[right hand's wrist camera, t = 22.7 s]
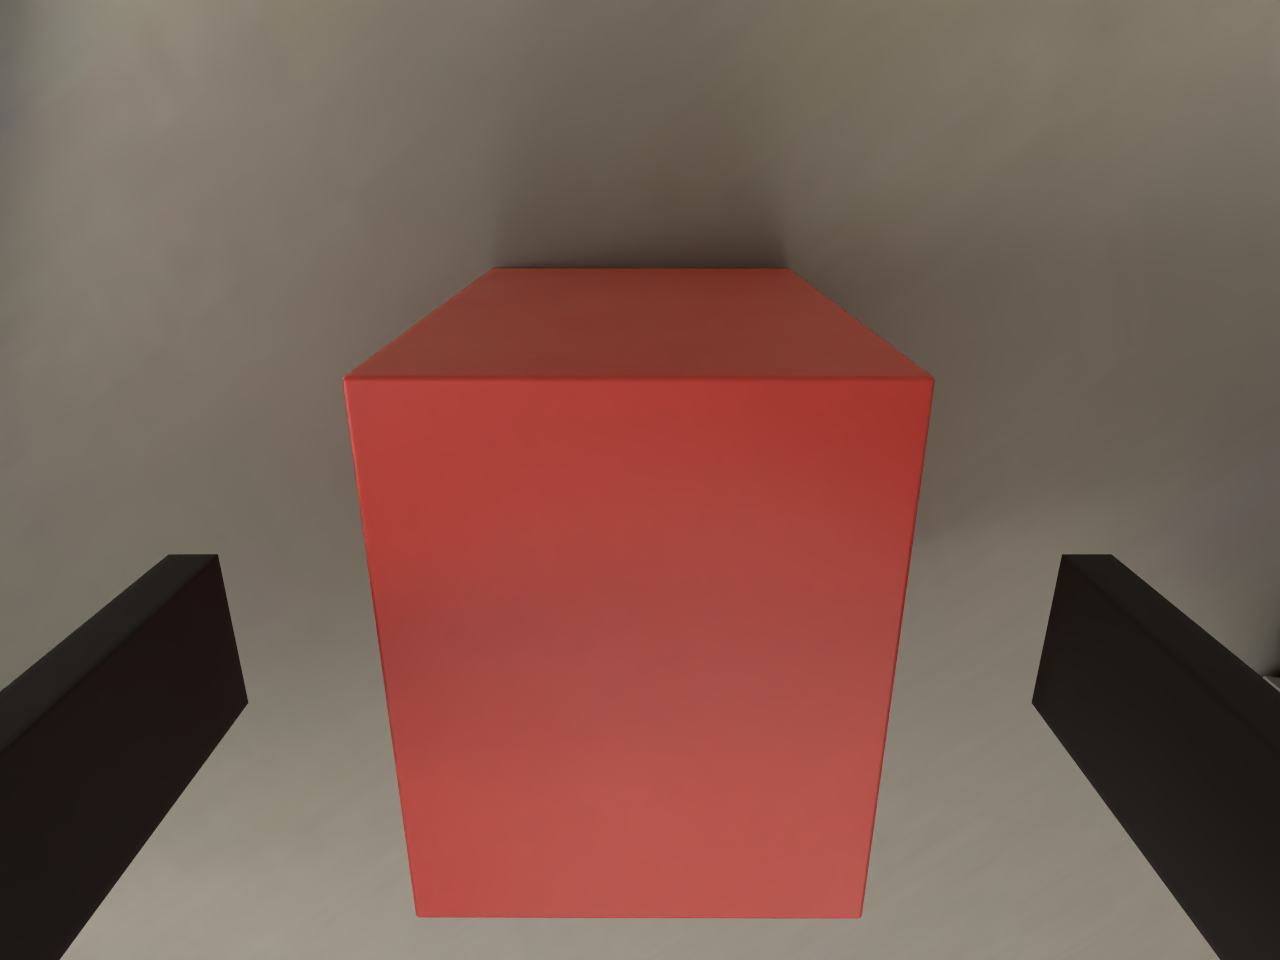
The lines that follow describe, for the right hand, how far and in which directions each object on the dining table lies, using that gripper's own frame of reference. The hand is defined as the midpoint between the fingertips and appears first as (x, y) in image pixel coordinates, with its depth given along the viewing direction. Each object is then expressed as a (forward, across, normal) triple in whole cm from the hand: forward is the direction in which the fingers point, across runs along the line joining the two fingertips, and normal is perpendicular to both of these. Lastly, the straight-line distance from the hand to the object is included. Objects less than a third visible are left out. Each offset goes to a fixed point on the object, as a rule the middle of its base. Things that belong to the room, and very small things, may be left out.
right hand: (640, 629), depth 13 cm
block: (+8, 0, 0) cm, 8 cm away
